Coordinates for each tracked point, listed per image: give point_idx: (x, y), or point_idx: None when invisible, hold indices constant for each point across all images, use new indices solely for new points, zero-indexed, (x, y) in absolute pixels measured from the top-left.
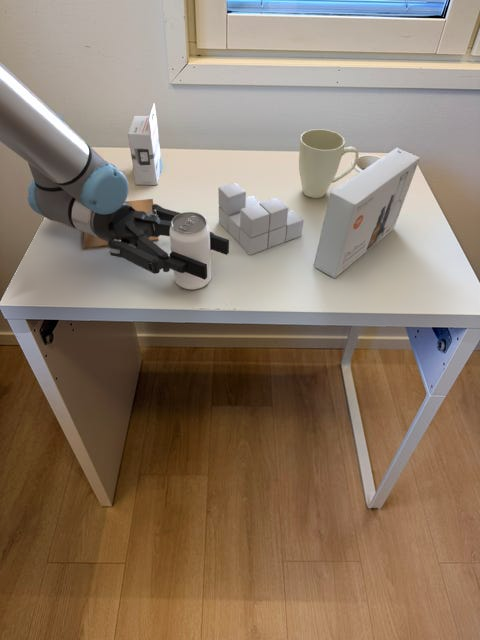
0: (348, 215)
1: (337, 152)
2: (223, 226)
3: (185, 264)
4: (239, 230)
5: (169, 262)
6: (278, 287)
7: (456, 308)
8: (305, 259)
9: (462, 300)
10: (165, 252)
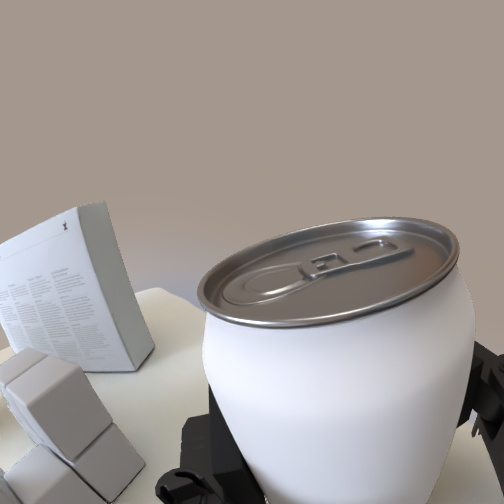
0: (109, 224)
1: None
2: None
3: None
4: (78, 476)
5: (489, 353)
6: None
7: (157, 290)
8: (121, 388)
9: (144, 293)
10: (500, 380)
